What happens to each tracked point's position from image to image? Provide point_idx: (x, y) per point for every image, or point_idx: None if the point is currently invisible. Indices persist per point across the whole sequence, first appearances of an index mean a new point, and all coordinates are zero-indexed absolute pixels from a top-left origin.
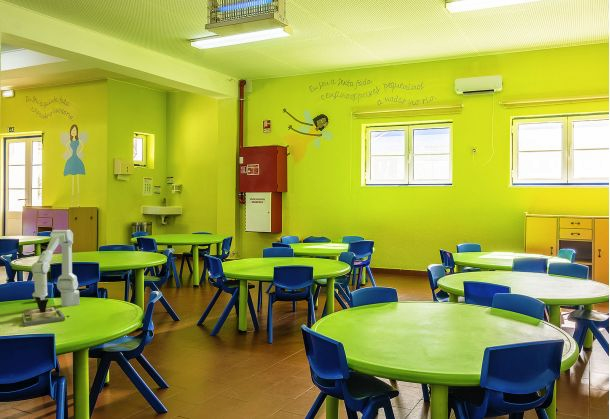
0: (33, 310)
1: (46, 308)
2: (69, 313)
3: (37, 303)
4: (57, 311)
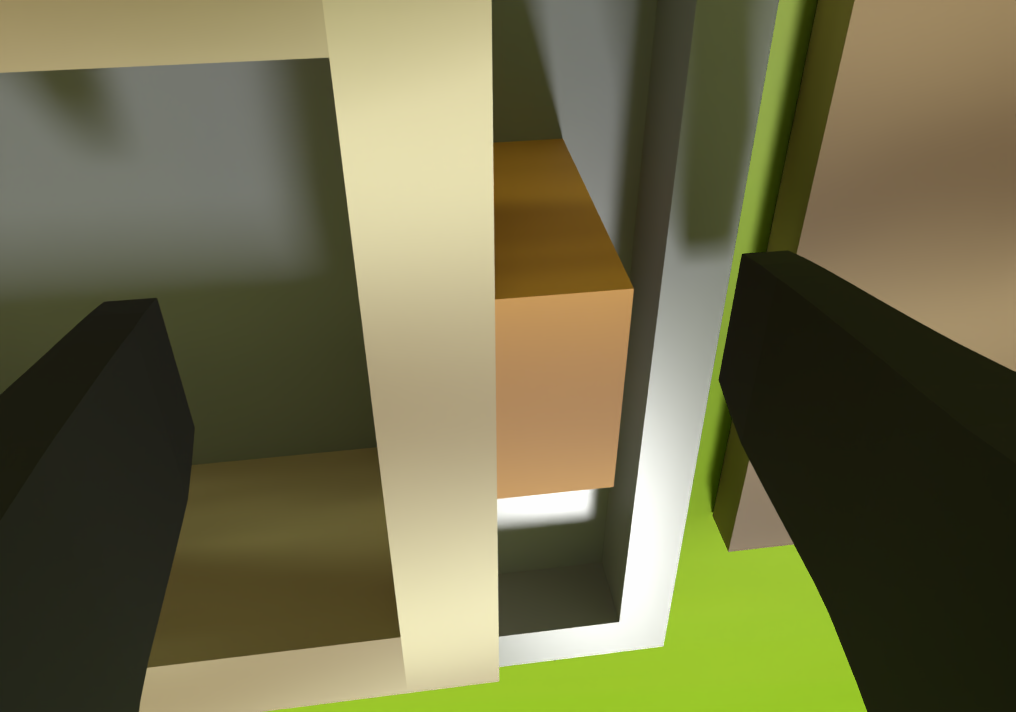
0: (344, 68)
1: (460, 534)
2: (515, 688)
3: (924, 404)
4: (614, 587)
